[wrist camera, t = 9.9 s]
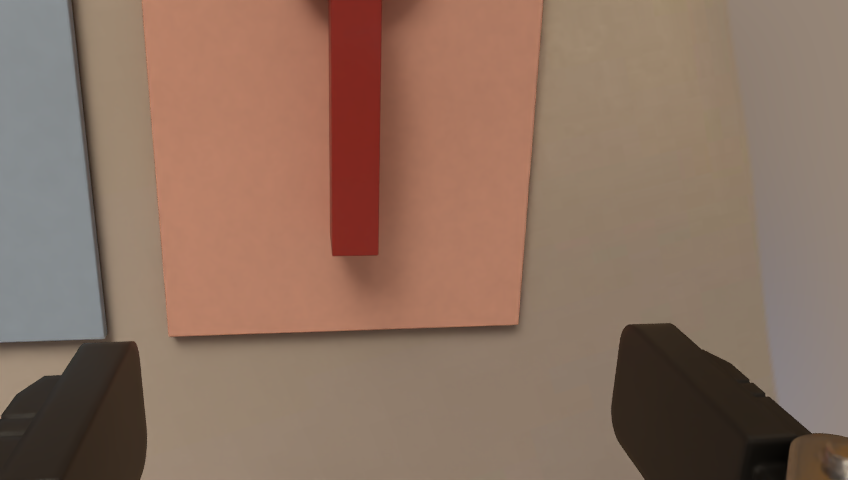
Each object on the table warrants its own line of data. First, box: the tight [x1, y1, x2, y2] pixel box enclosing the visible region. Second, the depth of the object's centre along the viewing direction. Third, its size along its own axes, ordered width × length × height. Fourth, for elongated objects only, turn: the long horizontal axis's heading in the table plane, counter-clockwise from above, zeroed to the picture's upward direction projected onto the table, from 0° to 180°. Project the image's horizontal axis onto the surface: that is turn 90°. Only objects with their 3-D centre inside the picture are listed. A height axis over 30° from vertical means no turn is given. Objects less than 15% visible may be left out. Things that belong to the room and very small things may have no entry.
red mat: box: [142, 0, 543, 337], centre depth 23 cm, size 13×12×1 cm
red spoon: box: [328, 0, 382, 256], centre depth 21 cm, size 11×4×2 cm, turn 178°
